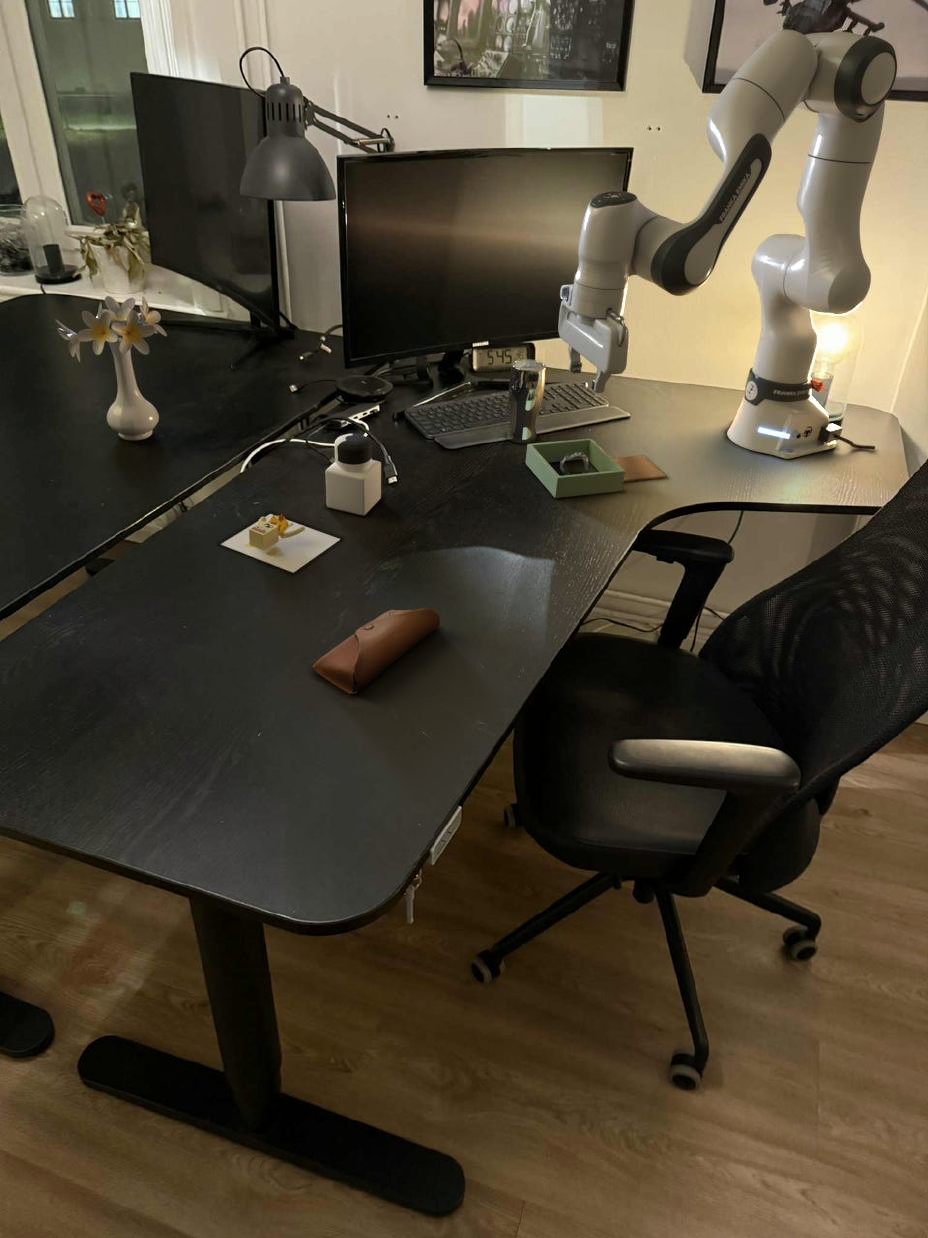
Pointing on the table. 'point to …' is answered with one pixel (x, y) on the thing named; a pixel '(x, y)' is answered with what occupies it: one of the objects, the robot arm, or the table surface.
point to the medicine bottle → (353, 476)
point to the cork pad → (638, 468)
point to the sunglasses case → (375, 647)
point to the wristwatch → (563, 465)
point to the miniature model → (281, 542)
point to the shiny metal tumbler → (525, 399)
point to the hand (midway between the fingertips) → (585, 381)
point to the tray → (576, 484)
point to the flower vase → (121, 360)
